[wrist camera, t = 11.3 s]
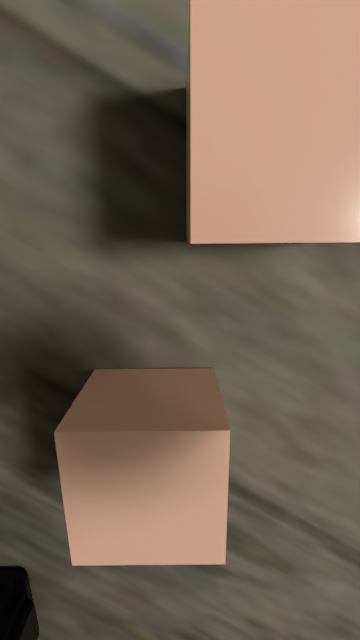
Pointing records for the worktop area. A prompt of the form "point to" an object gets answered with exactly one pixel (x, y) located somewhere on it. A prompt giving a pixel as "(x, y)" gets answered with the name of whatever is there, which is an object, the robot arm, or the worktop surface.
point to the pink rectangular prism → (146, 468)
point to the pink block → (273, 121)
